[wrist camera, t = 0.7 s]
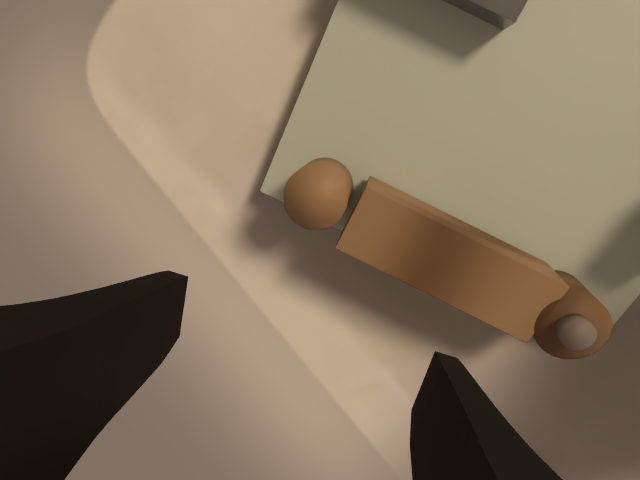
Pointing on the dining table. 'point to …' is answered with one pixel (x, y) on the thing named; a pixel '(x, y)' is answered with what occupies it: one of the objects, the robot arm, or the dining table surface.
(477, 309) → the folding leg
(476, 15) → the socket
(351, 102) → the seat board
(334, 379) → the dining table surface
